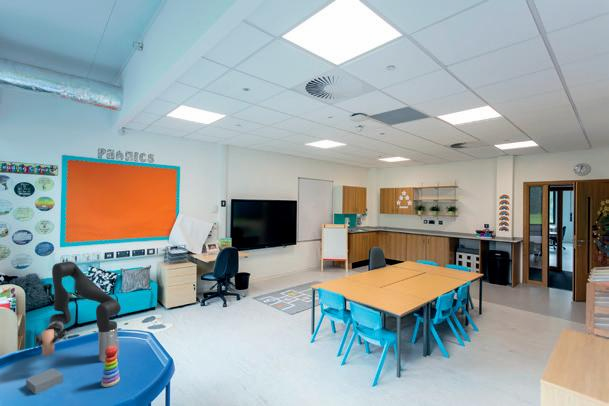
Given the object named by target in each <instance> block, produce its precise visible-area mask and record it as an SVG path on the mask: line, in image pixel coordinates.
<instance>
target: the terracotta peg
mask: <svg viewBox="0 0 609 406" xmlns="http://www.w3.org/2000/svg"><path fill="white" fill-rule="evenodd" d="M41 335H42V345H41V355H42V356H44V357H45V356H50V355H53V354H55V343H53V338H54V329H49V330H46V329H45V330H43V331H41Z"/></svg>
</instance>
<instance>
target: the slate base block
mask: <svg viewBox="0 0 609 406" xmlns="http://www.w3.org/2000/svg"><path fill="white" fill-rule="evenodd" d="M63 378H64V374H63V373H61V372H60V371H58V370H56V368H50V369H48V370H45V371H43V372H40V373H37V374H36V375H33V376H31V377H28V378H26V379H25V385H26V388H27V389H28V390H30V391H31V392H32V393H33V394H34V395H37V394H39V393H42V392H44V391H46V390H48V389H50V388H53V387H55V386H57V385H59V384H62V383H63V382H64V379H63Z"/></svg>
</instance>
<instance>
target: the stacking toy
mask: <svg viewBox="0 0 609 406" xmlns="http://www.w3.org/2000/svg"><path fill="white" fill-rule="evenodd" d="M116 352H117V348H116V347H115V346H110V347H108V348H107V349H106V351H105V354H106V356H107V357H106V358H105V360H106V361H105V362H104V365H103V372H102V377H101V384H100V385H101V386H102V387H105V388H109V387H112V386H115V385H116V384H118V383H119V382H120V380H121V377H120V370H119V366H118V365H119V363H118V359H117V358H118V356H117V355H116Z"/></svg>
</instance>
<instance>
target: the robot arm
mask: <svg viewBox="0 0 609 406" xmlns="http://www.w3.org/2000/svg"><path fill="white" fill-rule="evenodd" d="M51 276H52V284H53V292H54V302H53V303H54V304H53V305H54V306H53V310H54V311H56V312H61V313H54V314H52V315H51V316H50V317H49V325H48V326H47V327H46V329H45V330H49V329H54V338H53V343H54V344H55V343H56V342H57V341H58V340H62V339H64V338H65V337H66V336H67V333H68V332H67V331H68V330H67V329H65V330H64V327H65V326H66V325H68V324H70V323H71V321H72V315H71V312H70V308H69V304H70V303H69V302H70V295H69V292H68V291H67V289H66V288H65V287H64V285H63V278H67V277H71V278H72V279H73V280H74V281H75V282H74V283H75V284H74V289H75V292H76V293H77V294H78V295H79V296H81V297H82V298H83V299H86V300H89V301H93V302H97V303H99V304H97V306H96V308H95V317H96V326H97V329H98V331H97V333H98V361H100V362H104V363H105V361H106V360H105V358H106V357H107V356H106V354H105V351H106V349H107V348H108V347H110V346H115V347H116V348H117V352H116V355H117V357H119V356H120V339H118V323H117V322H116V321H114V320H110V318H111V317H113V316H114V317H115V316H117V315H118V314H119V313H120V312H121V309H122V308H121V305H120V302H119V301H118V300H117V299H115V298H114V297H112V296H111V295H109V294H108V293H106V292H105V291H104V290H103V289H102V288H100V286H98V285H97V284H96V283H95V282H94V281H93V280H91V279H90V278H89V277H88V276H87V275H86V274H85V273H84V272H83V271H82V270H81V268H79V266H78V264H76V263H75V262H74V261H71V260H70V261H63V262H58V263H55V264H54V265H52V270H51ZM35 344H37V345H38V346H41V347H42V334H41V335H38V334H36V335H35Z"/></svg>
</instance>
